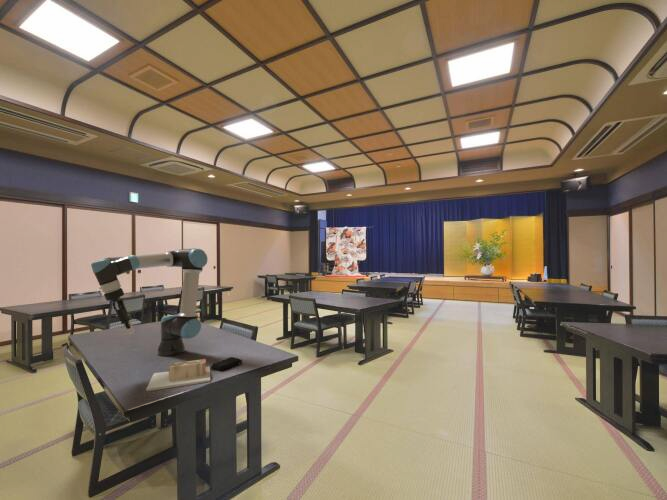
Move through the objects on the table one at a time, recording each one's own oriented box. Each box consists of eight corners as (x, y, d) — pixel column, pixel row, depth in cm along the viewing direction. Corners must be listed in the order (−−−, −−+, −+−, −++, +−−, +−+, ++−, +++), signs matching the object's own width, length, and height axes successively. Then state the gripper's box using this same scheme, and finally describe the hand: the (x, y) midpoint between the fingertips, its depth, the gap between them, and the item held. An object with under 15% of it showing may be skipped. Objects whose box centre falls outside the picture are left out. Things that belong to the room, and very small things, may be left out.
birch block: (170, 363, 148) (205, 359, 154) (170, 375, 148) (205, 370, 154) (168, 367, 142) (205, 362, 148) (168, 380, 142) (205, 375, 148)
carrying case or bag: (223, 373, 154) (245, 364, 167) (223, 367, 154) (245, 358, 167) (209, 369, 160) (231, 361, 172) (209, 363, 160) (231, 355, 173)
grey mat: (146, 391, 132) (146, 389, 132) (153, 375, 151) (153, 373, 151) (210, 381, 142) (210, 379, 142) (210, 367, 161) (210, 366, 161)
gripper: (105, 291, 151) (124, 333, 156) (100, 295, 140) (121, 341, 144) (123, 285, 154) (141, 326, 159) (119, 289, 143) (139, 334, 148)
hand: (131, 333), depth 152 cm, fingers closed
